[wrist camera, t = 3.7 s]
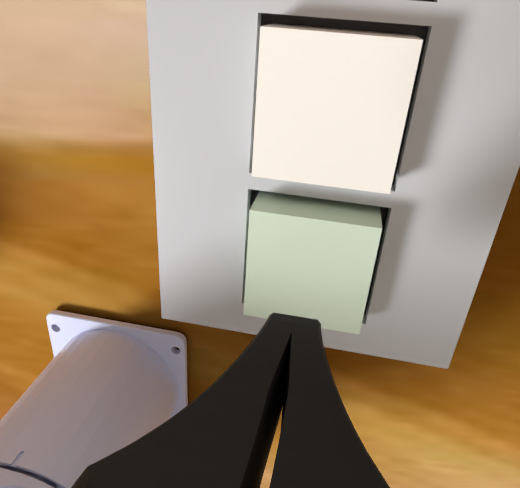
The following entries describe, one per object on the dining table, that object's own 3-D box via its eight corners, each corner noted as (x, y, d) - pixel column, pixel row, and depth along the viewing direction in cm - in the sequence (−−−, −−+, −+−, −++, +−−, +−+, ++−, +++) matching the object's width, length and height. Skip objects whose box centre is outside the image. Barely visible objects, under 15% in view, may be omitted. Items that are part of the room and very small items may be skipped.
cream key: (386, 171, 16) (389, 194, 14) (263, 156, 17) (251, 176, 15) (414, 34, 14) (423, 39, 12) (273, 23, 15) (260, 26, 13)
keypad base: (435, 317, 21) (448, 369, 18) (187, 277, 23) (161, 318, 20) (619, -270, 12) (704, -359, 9) (179, -267, 14) (129, -342, 11)
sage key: (359, 300, 19) (359, 334, 17) (254, 284, 19) (243, 314, 17) (379, 202, 17) (382, 228, 15) (261, 187, 17) (249, 210, 15)
